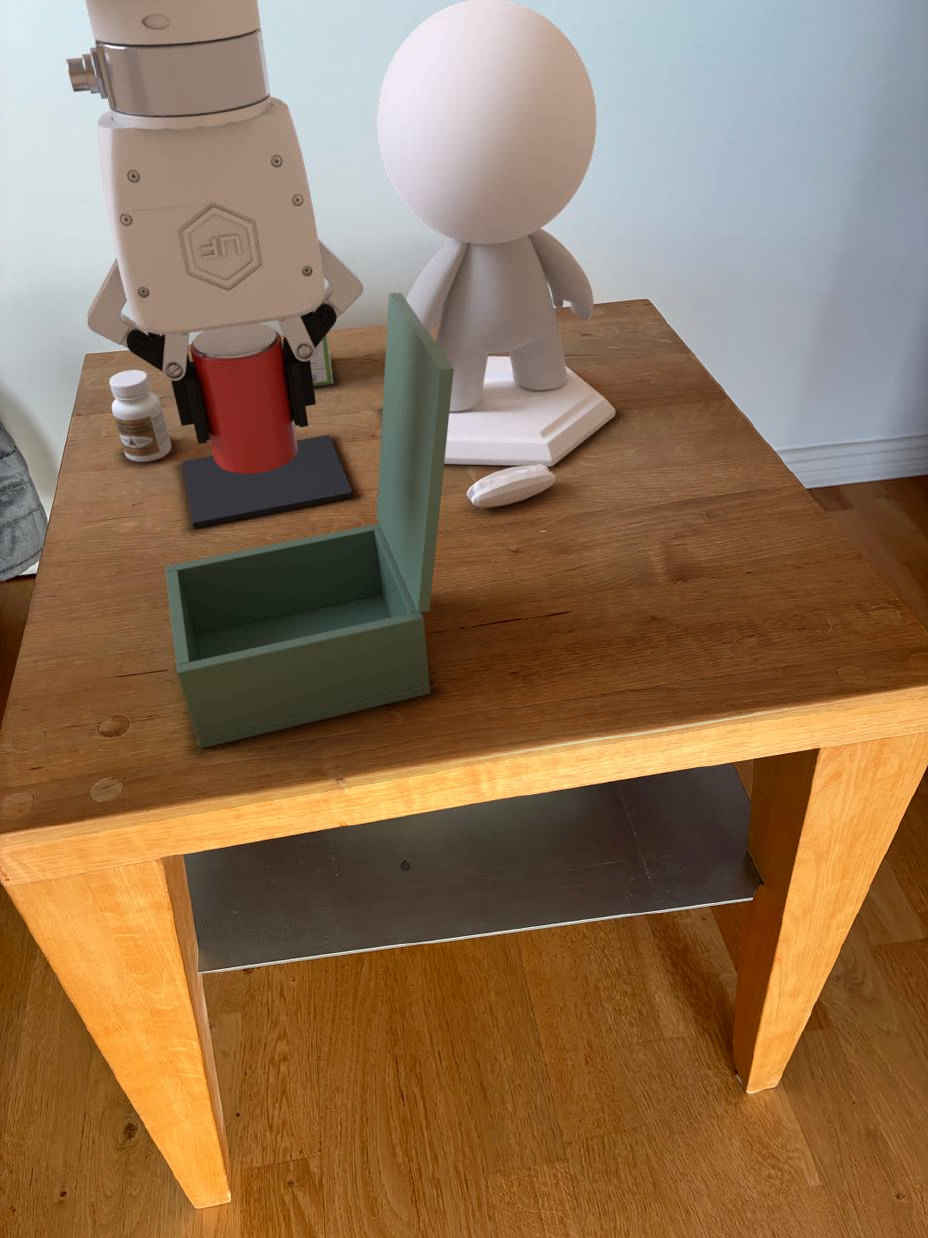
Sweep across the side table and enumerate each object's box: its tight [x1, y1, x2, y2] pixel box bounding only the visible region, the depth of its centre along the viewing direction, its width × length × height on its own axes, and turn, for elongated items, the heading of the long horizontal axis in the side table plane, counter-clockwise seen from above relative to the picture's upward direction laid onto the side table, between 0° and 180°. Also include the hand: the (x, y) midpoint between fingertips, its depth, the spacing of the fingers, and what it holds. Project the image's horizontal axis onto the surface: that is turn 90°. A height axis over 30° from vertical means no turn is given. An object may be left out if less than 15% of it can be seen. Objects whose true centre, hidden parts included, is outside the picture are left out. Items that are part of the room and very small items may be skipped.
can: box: [189, 323, 298, 474], centre depth 56 cm, size 5×5×7 cm
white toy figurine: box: [376, 0, 616, 468], centre depth 86 cm, size 20×23×35 cm
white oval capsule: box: [466, 464, 557, 509], centre depth 84 cm, size 3×8×3 cm, turn 115°
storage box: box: [164, 522, 431, 749], centre depth 67 cm, size 16×12×7 cm
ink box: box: [310, 333, 335, 387], centre depth 101 cm, size 7×4×13 cm, turn 15°
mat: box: [182, 434, 354, 529], centre depth 89 cm, size 14×11×1 cm
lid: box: [376, 292, 454, 613], centre depth 61 cm, size 16×12×1 cm
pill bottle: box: [109, 369, 172, 463], centre depth 91 cm, size 4×4×8 cm
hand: (250, 421), depth 57 cm, fingers closed on can, 5 cm apart
